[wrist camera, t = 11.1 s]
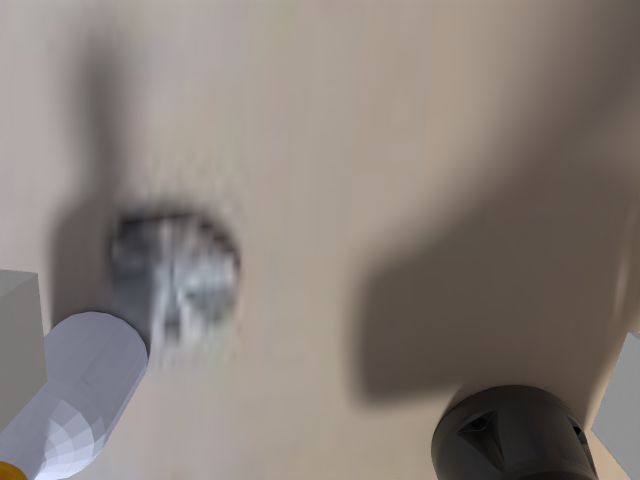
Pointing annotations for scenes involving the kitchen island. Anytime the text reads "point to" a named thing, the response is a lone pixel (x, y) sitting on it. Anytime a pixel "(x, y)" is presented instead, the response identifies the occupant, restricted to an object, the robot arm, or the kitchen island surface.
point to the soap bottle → (74, 398)
